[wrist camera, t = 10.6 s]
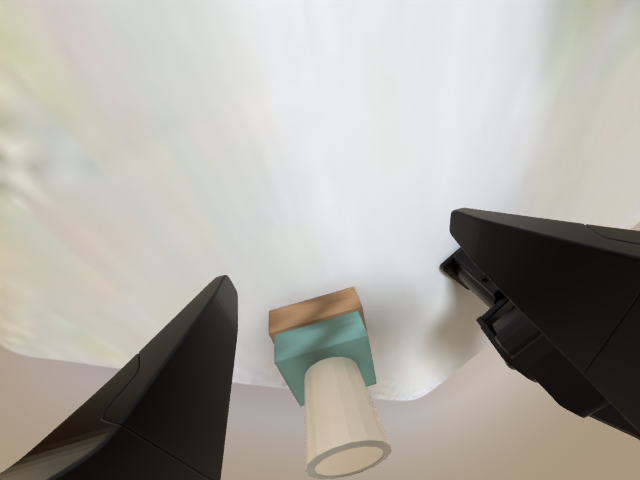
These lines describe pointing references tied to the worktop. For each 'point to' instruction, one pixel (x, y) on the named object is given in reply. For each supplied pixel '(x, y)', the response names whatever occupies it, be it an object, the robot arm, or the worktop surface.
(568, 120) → the worktop surface
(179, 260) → the worktop surface
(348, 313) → the teal and brown block
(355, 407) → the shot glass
